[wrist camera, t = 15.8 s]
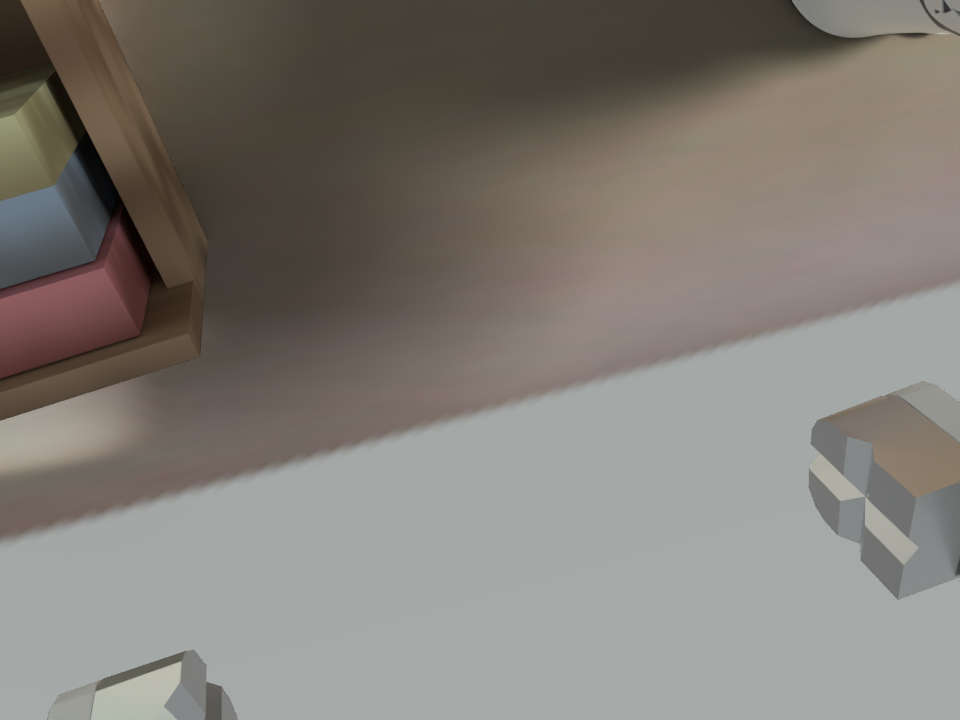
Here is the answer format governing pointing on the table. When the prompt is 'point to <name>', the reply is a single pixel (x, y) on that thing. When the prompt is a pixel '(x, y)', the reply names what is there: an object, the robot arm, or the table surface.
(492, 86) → the table surface
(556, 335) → the table surface
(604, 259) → the table surface
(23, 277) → the shelf
